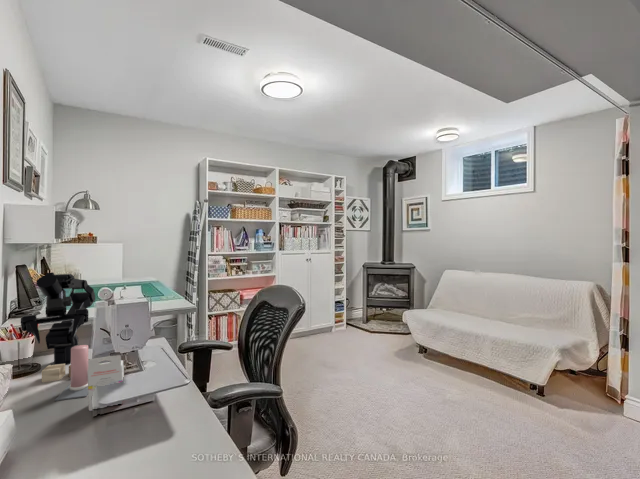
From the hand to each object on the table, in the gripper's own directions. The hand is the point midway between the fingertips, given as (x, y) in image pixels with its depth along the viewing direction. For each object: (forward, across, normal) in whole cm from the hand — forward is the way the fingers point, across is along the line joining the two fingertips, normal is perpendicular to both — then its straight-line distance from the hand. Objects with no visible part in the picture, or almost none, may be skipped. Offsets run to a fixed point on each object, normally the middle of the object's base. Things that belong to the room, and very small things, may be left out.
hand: (56, 340), depth 114 cm
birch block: (+8, -1, +11) cm, 14 cm away
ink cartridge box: (+31, +12, -12) cm, 36 cm away
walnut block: (+9, +6, +11) cm, 15 cm away
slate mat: (+19, +6, 0) cm, 20 cm away
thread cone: (+19, +6, 0) cm, 20 cm away
